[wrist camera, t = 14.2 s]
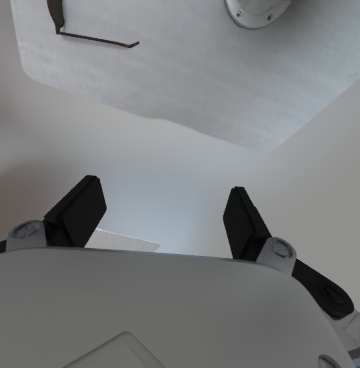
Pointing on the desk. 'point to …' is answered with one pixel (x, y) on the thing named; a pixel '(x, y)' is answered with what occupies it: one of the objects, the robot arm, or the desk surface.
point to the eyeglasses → (57, 15)
